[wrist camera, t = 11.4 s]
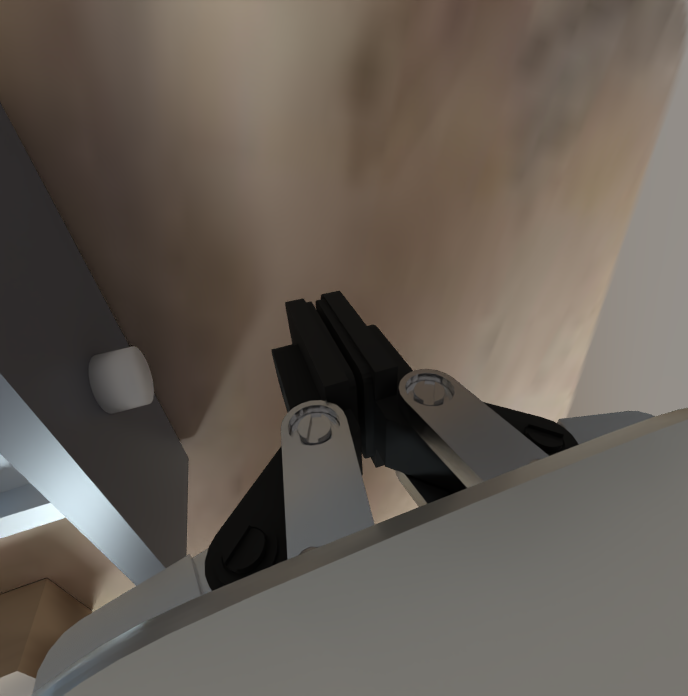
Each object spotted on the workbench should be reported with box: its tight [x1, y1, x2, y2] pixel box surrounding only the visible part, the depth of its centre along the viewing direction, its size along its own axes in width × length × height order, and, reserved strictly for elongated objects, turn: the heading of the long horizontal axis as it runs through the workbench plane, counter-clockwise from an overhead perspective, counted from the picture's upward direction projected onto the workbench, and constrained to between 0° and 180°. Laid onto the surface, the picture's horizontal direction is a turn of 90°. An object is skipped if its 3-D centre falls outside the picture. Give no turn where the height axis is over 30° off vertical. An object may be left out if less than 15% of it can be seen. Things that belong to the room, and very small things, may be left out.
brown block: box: [0, 578, 92, 696], centre depth 18 cm, size 5×5×4 cm
